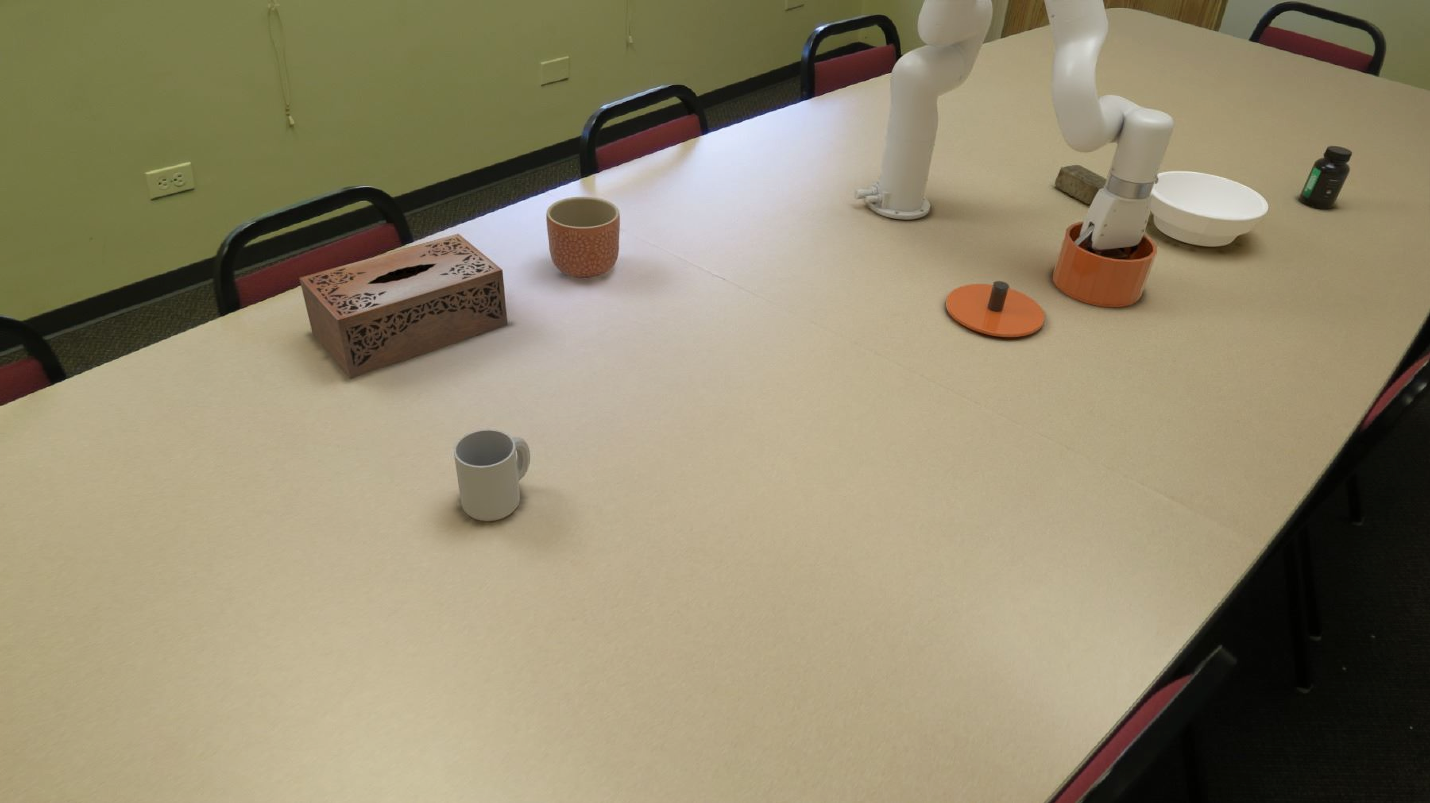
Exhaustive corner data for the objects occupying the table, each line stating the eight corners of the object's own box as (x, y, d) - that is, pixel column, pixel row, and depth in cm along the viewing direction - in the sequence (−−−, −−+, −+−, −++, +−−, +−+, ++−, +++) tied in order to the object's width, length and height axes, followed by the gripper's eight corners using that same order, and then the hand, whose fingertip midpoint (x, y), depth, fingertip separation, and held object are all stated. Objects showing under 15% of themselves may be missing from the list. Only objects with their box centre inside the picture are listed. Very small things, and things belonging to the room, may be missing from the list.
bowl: (1246, 220, 199) (1262, 182, 194) (1258, 268, 182) (1275, 228, 177) (1133, 200, 204) (1146, 163, 199) (1134, 245, 187) (1148, 205, 182)
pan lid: (974, 345, 155) (982, 315, 151) (928, 294, 167) (934, 266, 164) (1061, 334, 159) (1071, 304, 156) (1010, 285, 171) (1018, 257, 168)
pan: (1084, 311, 165) (1099, 265, 160) (1036, 268, 177) (1048, 224, 172) (1158, 302, 169) (1176, 257, 164) (1107, 261, 181) (1121, 217, 176)
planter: (632, 262, 171) (632, 206, 165) (597, 293, 162) (595, 234, 155) (573, 246, 175) (571, 190, 169) (535, 274, 166) (531, 217, 159)
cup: (449, 503, 119) (441, 448, 114) (512, 465, 126) (507, 411, 120) (486, 531, 116) (479, 476, 110) (549, 491, 122) (545, 437, 117)
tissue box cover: (350, 378, 139) (337, 320, 133) (312, 334, 148) (299, 277, 142) (507, 325, 153) (502, 269, 147) (464, 287, 161) (458, 233, 155)
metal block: (1094, 288, 170) (1103, 258, 166) (1077, 275, 174) (1087, 245, 170) (1117, 285, 171) (1128, 256, 168) (1101, 272, 175) (1111, 242, 172)
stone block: (1090, 208, 200) (1097, 186, 197) (1050, 187, 208) (1056, 165, 205) (1110, 204, 202) (1117, 181, 199) (1070, 183, 210) (1076, 161, 207)
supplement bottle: (1299, 205, 206) (1323, 152, 199) (1297, 193, 212) (1320, 141, 204) (1334, 212, 205) (1360, 158, 197) (1331, 200, 210) (1355, 147, 203)
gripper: (1157, 172, 167) (1125, 264, 178) (1073, 179, 162) (1045, 273, 173) (1185, 190, 161) (1150, 284, 172) (1099, 198, 157) (1068, 294, 167)
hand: (1098, 278), depth 172 cm, fingers closed on metal block, 5 cm apart
